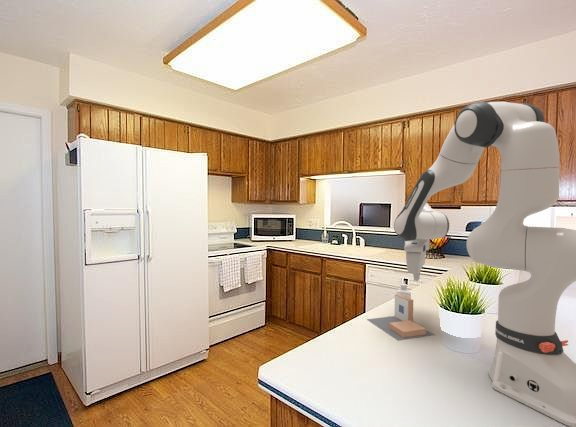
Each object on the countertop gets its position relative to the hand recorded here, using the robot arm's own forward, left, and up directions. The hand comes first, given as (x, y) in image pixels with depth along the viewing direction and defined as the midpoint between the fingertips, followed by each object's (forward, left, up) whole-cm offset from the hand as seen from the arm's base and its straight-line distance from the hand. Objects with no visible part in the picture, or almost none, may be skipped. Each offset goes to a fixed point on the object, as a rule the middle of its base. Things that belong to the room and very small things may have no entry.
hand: (416, 280), depth 116 cm
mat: (-5, +12, -15) cm, 20 cm away
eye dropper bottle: (+11, -3, -16) cm, 19 cm away
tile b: (0, +6, -15) cm, 16 cm away
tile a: (-9, +7, -14) cm, 18 cm away
